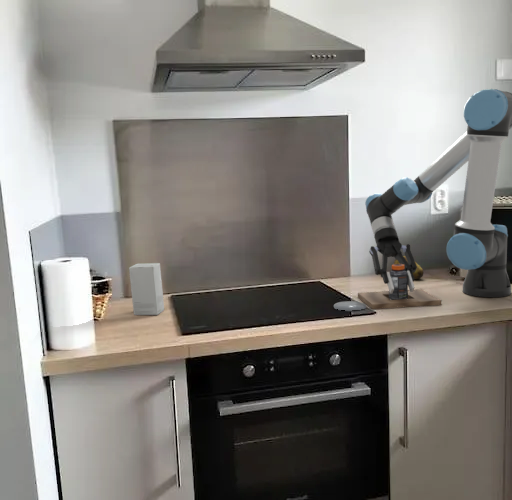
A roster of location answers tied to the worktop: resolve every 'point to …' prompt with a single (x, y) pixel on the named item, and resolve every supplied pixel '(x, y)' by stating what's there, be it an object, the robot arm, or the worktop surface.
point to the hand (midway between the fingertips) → (402, 290)
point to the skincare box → (146, 289)
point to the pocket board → (414, 299)
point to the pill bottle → (399, 282)
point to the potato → (417, 273)
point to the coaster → (349, 305)
